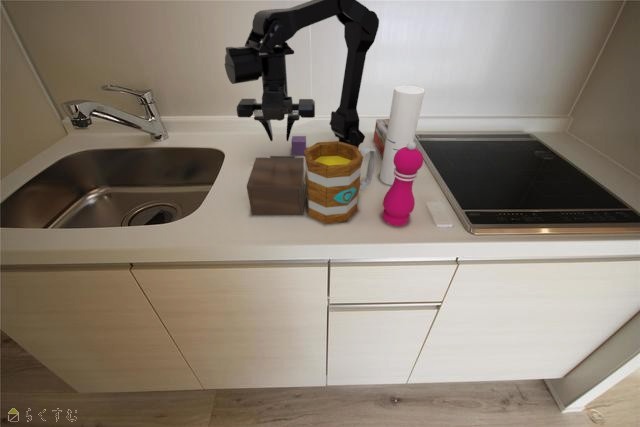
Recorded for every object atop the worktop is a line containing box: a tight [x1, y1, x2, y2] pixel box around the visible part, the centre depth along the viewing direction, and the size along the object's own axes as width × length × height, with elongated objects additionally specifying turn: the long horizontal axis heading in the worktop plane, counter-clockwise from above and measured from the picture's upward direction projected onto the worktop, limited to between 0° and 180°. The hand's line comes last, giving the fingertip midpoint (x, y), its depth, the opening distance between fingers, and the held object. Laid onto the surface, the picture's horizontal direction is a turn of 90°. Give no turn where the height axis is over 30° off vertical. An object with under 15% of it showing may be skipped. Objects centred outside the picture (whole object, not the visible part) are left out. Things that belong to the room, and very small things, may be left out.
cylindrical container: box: [379, 84, 426, 186], centre depth 76 cm, size 7×7×25 cm
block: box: [291, 135, 307, 156], centre depth 96 cm, size 5×5×5 cm
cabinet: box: [246, 157, 305, 216], centre depth 73 cm, size 14×13×9 cm
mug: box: [304, 140, 377, 225], centre depth 70 cm, size 20×14×15 cm
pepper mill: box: [382, 141, 424, 227], centre depth 64 cm, size 7×7×20 cm
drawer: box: [269, 155, 296, 158], centre depth 77 cm, size 17×11×7 cm, turn 1°
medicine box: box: [373, 118, 389, 157], centre depth 96 cm, size 15×8×8 cm, turn 6°
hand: (279, 140), depth 76 cm, fingers open, 4 cm apart
